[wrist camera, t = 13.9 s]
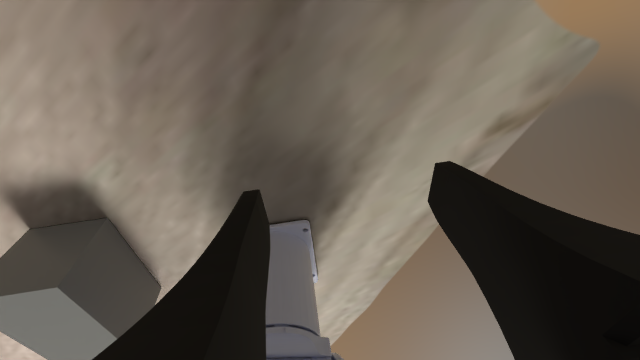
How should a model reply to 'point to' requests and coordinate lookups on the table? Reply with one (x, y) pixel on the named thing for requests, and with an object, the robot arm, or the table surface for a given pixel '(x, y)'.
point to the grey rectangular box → (72, 289)
